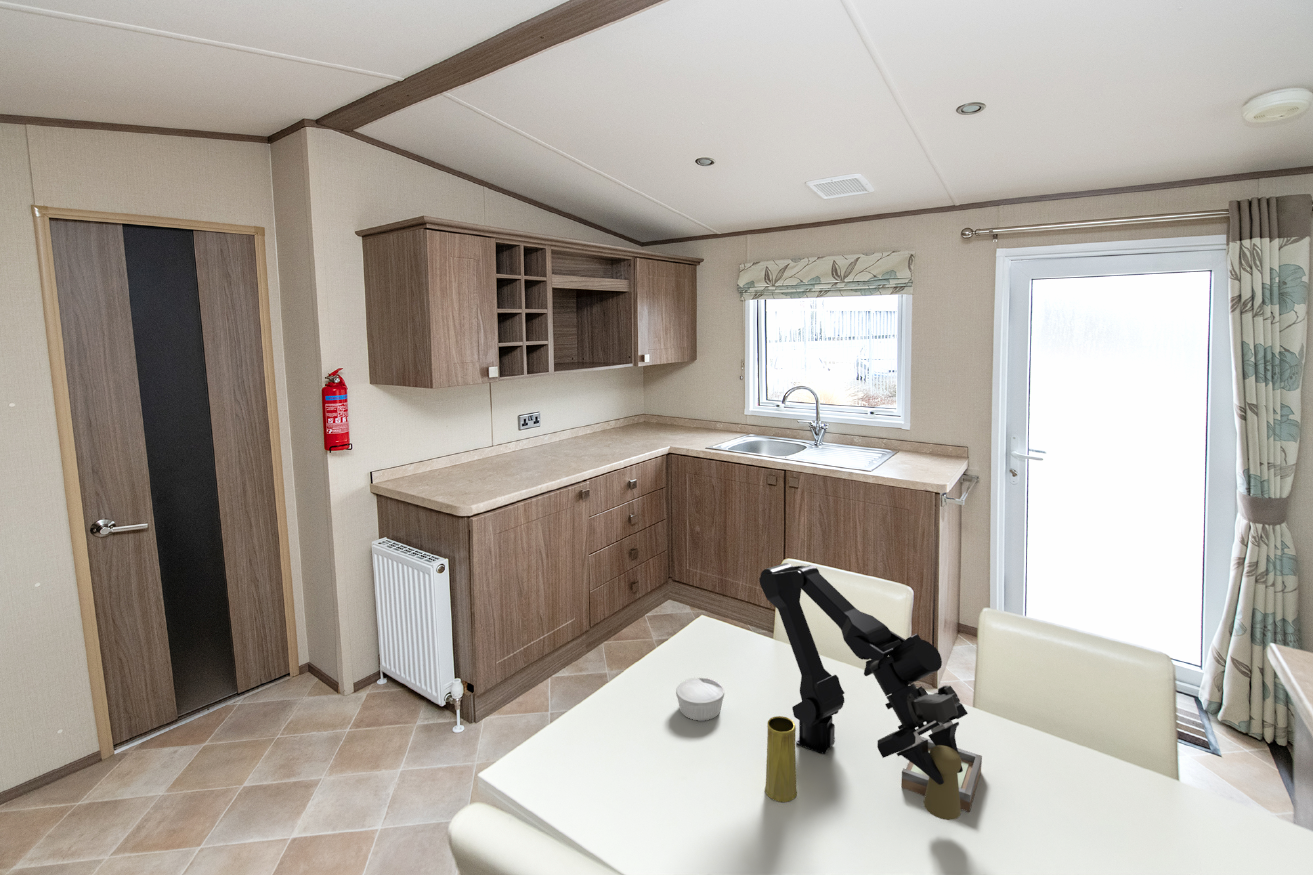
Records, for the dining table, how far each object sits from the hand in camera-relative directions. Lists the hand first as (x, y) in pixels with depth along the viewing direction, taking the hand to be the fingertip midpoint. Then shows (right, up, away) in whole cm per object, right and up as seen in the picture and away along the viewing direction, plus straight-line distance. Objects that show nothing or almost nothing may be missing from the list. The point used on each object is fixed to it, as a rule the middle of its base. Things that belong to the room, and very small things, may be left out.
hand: (951, 778), depth 112 cm
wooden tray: (+5, -8, +15) cm, 18 cm away
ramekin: (-41, -6, +41) cm, 58 cm away
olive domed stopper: (-1, -7, +2) cm, 7 cm away
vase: (-27, -10, +13) cm, 31 cm away
